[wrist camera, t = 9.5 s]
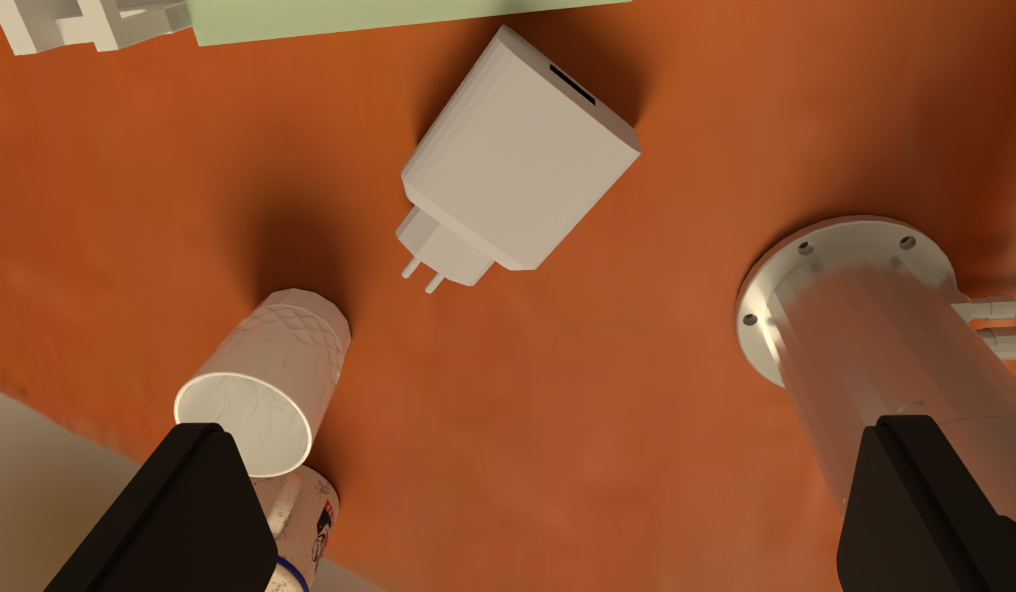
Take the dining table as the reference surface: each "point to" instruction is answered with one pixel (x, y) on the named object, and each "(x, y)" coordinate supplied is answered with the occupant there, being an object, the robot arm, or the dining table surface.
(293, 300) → the white cup
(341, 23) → the pitch
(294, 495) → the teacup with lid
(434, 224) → the charger
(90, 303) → the dining table surface
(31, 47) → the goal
